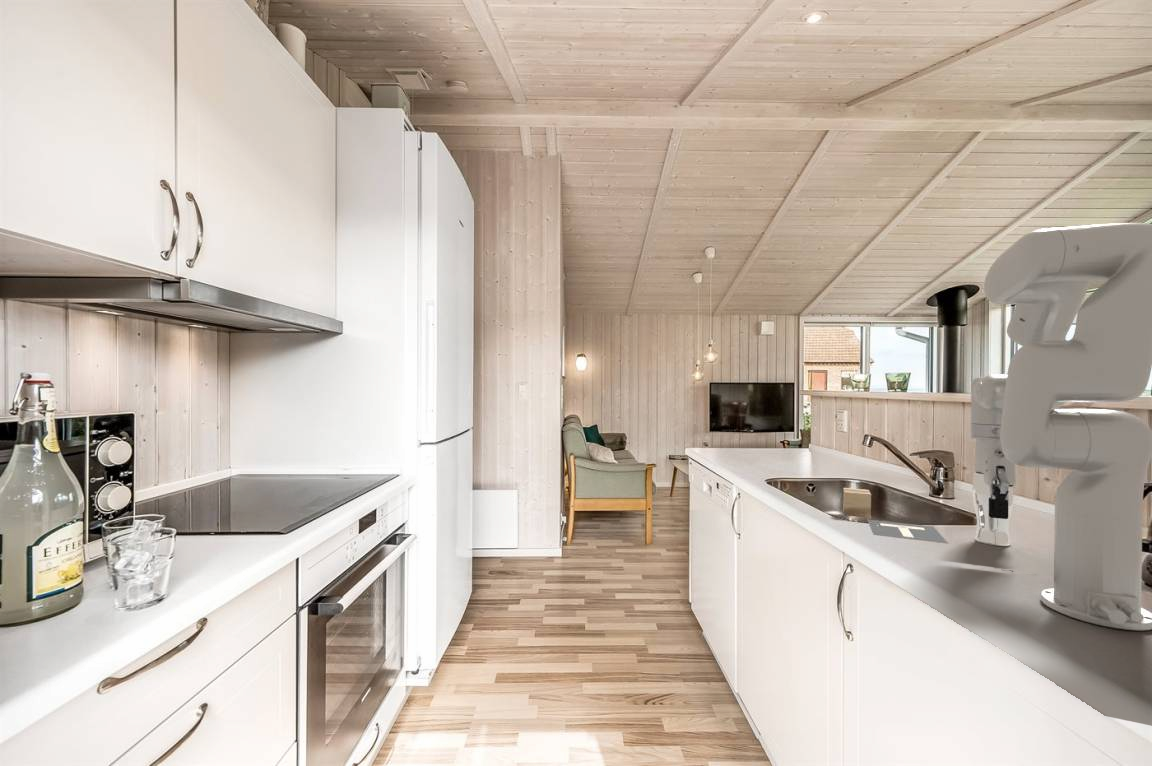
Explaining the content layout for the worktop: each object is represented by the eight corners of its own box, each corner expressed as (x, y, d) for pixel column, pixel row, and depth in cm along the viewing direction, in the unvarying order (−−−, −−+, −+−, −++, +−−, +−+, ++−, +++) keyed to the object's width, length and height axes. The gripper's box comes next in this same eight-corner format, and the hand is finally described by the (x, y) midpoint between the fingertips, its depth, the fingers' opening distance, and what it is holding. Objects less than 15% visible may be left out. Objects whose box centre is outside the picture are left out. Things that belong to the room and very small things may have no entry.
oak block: (870, 521, 130) (870, 494, 130) (844, 518, 132) (844, 492, 132) (868, 516, 135) (868, 489, 135) (843, 513, 138) (843, 487, 138)
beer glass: (1021, 548, 107) (1021, 477, 107) (983, 545, 108) (983, 475, 108) (1000, 538, 114) (1001, 471, 114) (965, 536, 115) (965, 470, 115)
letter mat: (948, 547, 110) (948, 543, 110) (873, 538, 116) (873, 534, 116) (933, 529, 123) (933, 526, 123) (867, 522, 128) (867, 519, 128)
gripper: (1030, 436, 102) (1030, 525, 102) (1000, 430, 118) (1000, 508, 117) (984, 434, 105) (983, 521, 105) (960, 429, 121) (960, 504, 120)
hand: (992, 513), depth 111 cm, fingers closed on beer glass, 6 cm apart
